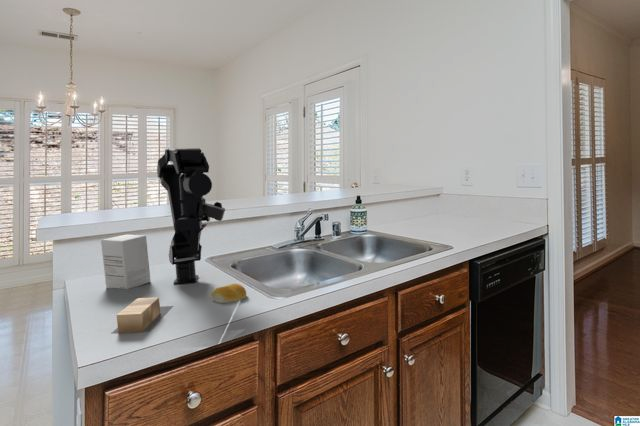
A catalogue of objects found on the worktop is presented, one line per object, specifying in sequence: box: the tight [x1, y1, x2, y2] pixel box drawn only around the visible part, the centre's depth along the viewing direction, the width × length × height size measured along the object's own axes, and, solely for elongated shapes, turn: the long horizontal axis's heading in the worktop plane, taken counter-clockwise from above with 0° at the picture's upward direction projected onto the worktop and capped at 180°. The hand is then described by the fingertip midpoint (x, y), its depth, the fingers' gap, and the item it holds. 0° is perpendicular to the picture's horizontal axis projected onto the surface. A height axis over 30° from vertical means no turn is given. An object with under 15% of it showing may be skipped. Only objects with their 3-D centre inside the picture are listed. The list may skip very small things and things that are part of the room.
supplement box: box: [100, 233, 151, 290], centre depth 112 cm, size 9×9×15 cm
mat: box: [111, 305, 174, 334], centre depth 85 cm, size 14×8×1 cm, turn 3°
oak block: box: [116, 296, 161, 334], centre depth 83 cm, size 4×5×10 cm
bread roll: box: [210, 283, 247, 304], centre depth 98 cm, size 8×9×4 cm
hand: (195, 251), depth 101 cm, fingers closed
